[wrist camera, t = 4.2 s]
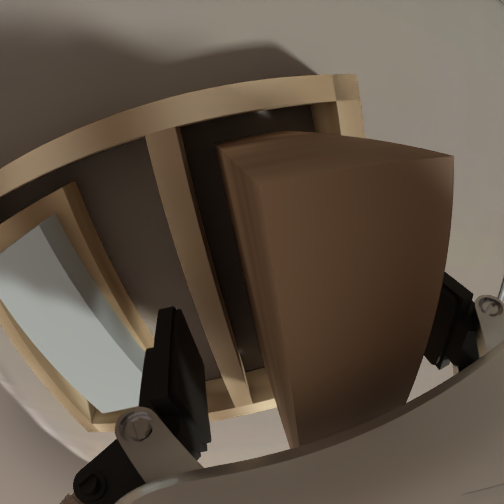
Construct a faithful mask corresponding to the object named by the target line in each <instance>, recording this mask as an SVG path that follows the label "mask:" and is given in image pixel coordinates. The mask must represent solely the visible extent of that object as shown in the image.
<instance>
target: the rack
mask: <svg viewBox="0 0 504 504" xmlns="http://www.w3.org/2000/svg"><path fill="white" fill-rule="evenodd" d="M302 105H310V106H311V112H312V119H313V125H314V132H315V133H325V134H334V135H343V136H351V137H359V138H365V134H364V125H363V117H362V110H361V103H360V96H359V90H358V84H357V78H356V75H355V74H335V75H307V76H293V77H281V78H271V79H263V80H255V81H248V82H241V83H235V84H229V85H223V86H218V87H213V88H208V89H203V90H198V91H194V92H189V93H185V94H181V95H177V96H173V97H169V98H166V99H162V100H158V101H155V102H151V103H148V104H145V105H141V106H138V107H135V108H132V109H129V110H126V111H123V112H120V113H117V114H114V115H112V116H109V117H106V118H103V119H101V120H98V121H96V122H93V123H91V124H88V125H86V126H83V127H81V128H79V129H76V130H74V131H72V132H69V133H67V134H65V135H63V136H61V137H58V138H56V139H54V140H52V141H50V142H48V143H46V144H44V145H42V146H40V147H38V148H36V149H34V150H32V151H30V152H29V153H27V154H25V155H23V156H21V157H20V158H18V159H16V160H14V161H13V162H11V163H9V164H7V165H6V166H4V167H2V168H1V169H0V198H1V197H3V196H4V195H6V194H8V193H10V192H12V191H14V190H16V189H17V188H19V187H21V186H23V185H25V184H27V183H29V182H31V181H33V180H35V179H37V178H40V177H42V176H44V175H46V174H48V173H50V172H52V171H55V170H57V169H59V168H61V167H64V166H66V165H68V164H71V163H73V162H76V161H78V160H81V159H83V158H86V157H88V156H91V155H93V154H96V153H99V152H101V151H104V150H107V149H110V148H113V147H116V146H118V145H121V144H124V143H127V142H130V141H134V140H137V139H140V138H143V137H145V138H146V142H147V146H148V151H149V155H150V159H151V163H152V167H153V171H154V175H155V178H156V182H157V186H158V190H159V193H160V197H161V201H162V204H163V208H164V211H165V215H166V218H167V222H168V225H169V228H170V232H171V235H172V238H173V241H174V245H175V248H176V251H177V254H178V257H179V261H180V264H181V267H182V270H183V273H184V276H185V279H186V282H187V285H188V288H189V290H190V293H191V296H192V299H193V302H194V305H195V308H196V310H197V313H198V316H199V319H200V321H201V324H202V327H203V329H204V332H205V335H206V337H207V340H208V343H209V345H210V348H211V350H212V353H213V355H214V358H215V360H216V363H217V365H218V368H219V370H220V373H221V375H222V378H218V379H214V380H209V381H205V384H206V395H207V405H208V415H209V422H212V421H217V420H223V419H228V418H233V417H238V416H242V415H247V414H251V413H255V412H260V411H264V410H268V409H272V408H275V407H277V405H276V401H275V398H274V395H273V392H272V388H271V385H270V382H269V379H268V375H267V372H266V369H265V368H261V369H257V370H253V371H249V372H245V369H244V366H243V363H242V360H241V356H240V353H239V350H238V347H237V343H236V340H235V337H234V334H233V330H232V327H231V323H230V320H229V317H228V313H227V310H226V306H225V303H224V300H223V296H222V293H221V289H220V285H219V282H218V278H217V275H216V271H215V267H214V264H213V260H212V256H211V253H210V249H209V245H208V241H207V238H206V234H205V230H204V226H203V222H202V218H201V214H200V210H199V206H198V202H197V198H196V194H195V190H194V186H193V182H192V178H191V173H190V169H189V165H188V161H187V156H186V152H185V147H184V143H183V139H182V134H181V129H180V127H183V126H187V125H191V124H195V123H199V122H204V121H208V120H213V119H218V118H223V117H228V116H233V115H238V114H244V113H250V112H256V111H262V110H269V109H276V108H284V107H293V106H302ZM0 324H1V326H2V327H3V329H4V331H5V332H6V334H7V335H8V337H9V338H10V340H11V341H12V343H13V344H14V346H15V347H16V349H17V350H18V352H19V353H20V354H21V356H22V357H23V359H24V360H25V361H26V363H27V364H28V365H29V367H30V368H31V369H32V370H33V372H34V373H35V374H36V376H37V377H38V378H39V379H40V380H41V382H42V383H43V384H44V385H45V387H46V388H47V389H48V390H49V391H50V392H51V393H52V395H53V396H54V397H55V398H56V399H57V400H58V401H59V402H60V404H61V405H62V406H63V407H64V408H65V409H66V410H67V411H68V412H69V413H70V414H71V415H72V416H73V417H74V418H75V419H76V420H77V421H78V422H79V423H80V424H81V425H82V426H83V427H84V428H85V429H86V430H87V431H88V432H113V431H115V425H116V422H117V420H118V418H119V417H120V416H121V415H122V414H123V413H124V412H125V411H127V410H129V409H131V408H135V407H131V408H127V409H122V410H118V411H113V412H108V413H101V412H100V411H99V410H98V409H97V408H96V407H95V406H93V405H92V404H91V403H90V402H89V401H88V400H87V399H86V398H85V397H83V396H82V395H81V394H80V393H79V392H78V391H77V390H76V389H75V388H74V387H73V386H72V385H71V384H70V383H69V382H68V381H67V380H66V379H65V378H64V377H63V376H62V375H61V374H60V373H59V372H58V371H57V370H56V369H55V367H54V366H53V365H52V364H51V363H50V362H49V361H48V360H47V359H46V358H45V356H44V355H43V354H42V353H41V352H40V351H39V349H38V348H37V347H36V346H35V345H34V343H33V342H32V341H31V340H30V339H29V337H28V336H27V335H26V334H25V332H24V331H23V330H22V328H21V327H20V326H19V324H18V323H17V322H16V320H15V319H14V318H13V316H12V315H11V313H10V312H9V311H8V309H7V308H6V306H5V305H4V303H3V302H2V300H1V299H0ZM136 407H138V406H136Z"/></svg>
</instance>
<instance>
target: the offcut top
mask: <svg viewBox="0 0 504 504" xmlns="http://www.w3.org/2000/svg"><path fill="white" fill-rule="evenodd" d="M0 299H1V300H2V302H3V303H4V305H5V306H6V308H7V309H8V311H9V312H10V313H11V315H12V316H13V318H14V319H15V320H16V322H17V323H18V324H19V326H20V327H21V328H22V330H23V331H24V332H25V334H26V335H27V336H28V337H29V339H30V340H31V341H32V342H33V343H34V345H35V346H36V347H37V348H38V349H39V351H40V352H41V353H42V354H43V355H44V356H45V358H46V359H47V360H48V361H49V362H50V363H51V364H52V365H53V366H54V367H55V369H56V370H57V371H58V372H59V373H60V374H61V375H62V376H63V377H64V378H65V379H66V380H67V381H68V382H69V383H70V384H71V385H72V386H73V387H74V388H75V389H76V390H77V391H78V392H79V393H80V394H81V395H82V396H83V397H85V398H86V399H87V400H88V401H89V402H90V403H91V404H92V405H93V406H95V407H96V408H97V409H98V410H99V411H100V412H101V413H108V412H113V411H118V410H122V409H127V408H131V407H136V406H139V396H140V387H141V379H142V371H143V364H144V357H145V351H144V350H143V349H142V347H141V346H140V345H139V344H138V342H137V341H136V340H135V338H134V337H133V336H132V335H131V333H130V332H129V331H128V329H127V328H126V327H125V325H124V324H123V323H122V321H121V320H120V318H119V317H118V316H117V314H116V313H115V311H114V310H113V309H112V307H111V306H110V304H109V303H108V301H107V300H106V299H105V297H104V296H103V294H102V293H101V291H100V290H99V288H98V287H97V285H96V283H95V282H94V280H93V279H92V277H91V276H90V274H89V272H88V271H87V269H86V268H85V266H84V264H83V263H82V261H81V259H80V258H79V256H78V254H77V252H76V251H75V249H74V247H73V245H72V244H71V242H70V240H69V238H68V236H67V235H66V233H65V231H64V229H63V227H62V225H61V223H60V221H59V220H58V218H57V216H56V214H53V215H52V216H50V217H49V218H47V219H46V220H44V221H43V222H41V223H40V224H38V225H37V226H36V227H34V228H33V229H31V230H30V231H28V232H27V233H26V234H24V235H23V236H22V237H20V238H19V239H17V240H16V241H15V242H13V243H12V244H11V245H10V246H8V247H7V248H6V249H4V250H3V251H2V252H1V253H0Z"/></svg>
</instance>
